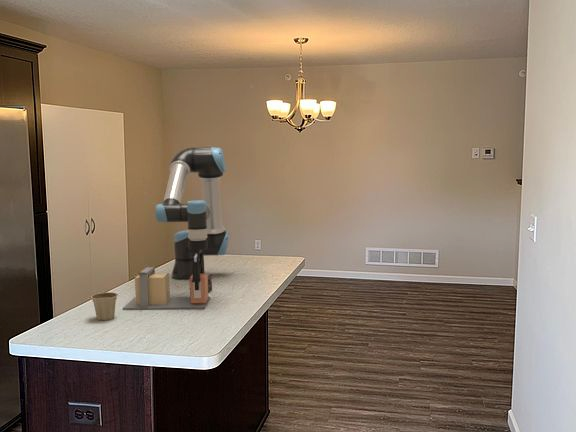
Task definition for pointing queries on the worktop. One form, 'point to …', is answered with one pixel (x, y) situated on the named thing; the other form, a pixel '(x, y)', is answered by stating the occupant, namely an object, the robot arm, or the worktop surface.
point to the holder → (157, 294)
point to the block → (203, 289)
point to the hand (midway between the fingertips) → (199, 295)
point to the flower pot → (104, 305)
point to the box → (209, 283)
